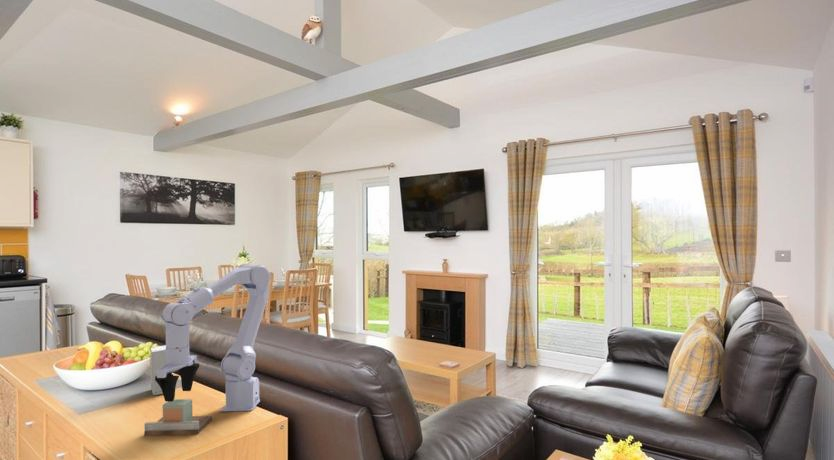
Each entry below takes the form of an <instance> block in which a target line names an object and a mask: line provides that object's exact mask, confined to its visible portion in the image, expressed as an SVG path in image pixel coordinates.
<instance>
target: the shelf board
mask: <svg viewBox="0 0 834 460" xmlns="http://www.w3.org/2000/svg"><path fill="white" fill-rule="evenodd" d="M192 418H193V421H199V429H198V430H165V431H145V430H144V432H143V433H144V436H145V437H146V436H148V437H149V436H153V437H154V436H180V435H198V434H200V433H201V431H203V430H204V429H205V428H206V427H208V425H209V424H210V423H211V422H212V421H213V416H212V415H197V416H196V415H195V416H193V415H192ZM156 422H163V416H162V417H160V419H157V421H156Z"/></svg>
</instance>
